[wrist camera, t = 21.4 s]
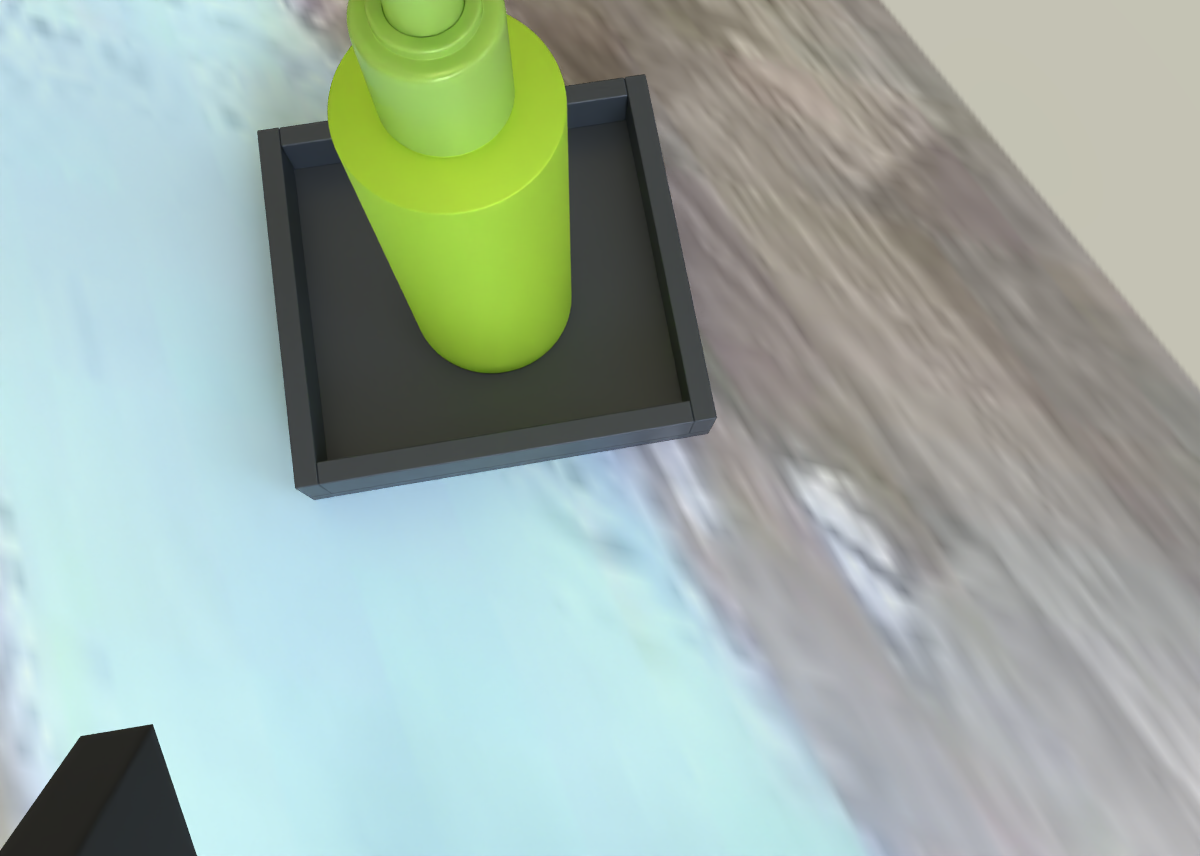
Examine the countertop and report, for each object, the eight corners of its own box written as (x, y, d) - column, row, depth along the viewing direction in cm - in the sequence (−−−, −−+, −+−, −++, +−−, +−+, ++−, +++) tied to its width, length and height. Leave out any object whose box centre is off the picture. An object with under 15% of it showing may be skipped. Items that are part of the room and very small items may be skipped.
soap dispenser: (479, 179, 38) (374, -333, 19) (604, 301, 37) (630, -108, 18) (363, 277, 37) (124, -157, 18) (487, 405, 36) (379, 94, 16)
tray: (641, 108, 40) (645, 73, 37) (708, 433, 37) (717, 418, 34) (276, 162, 39) (256, 130, 36) (313, 500, 36) (294, 488, 33)
